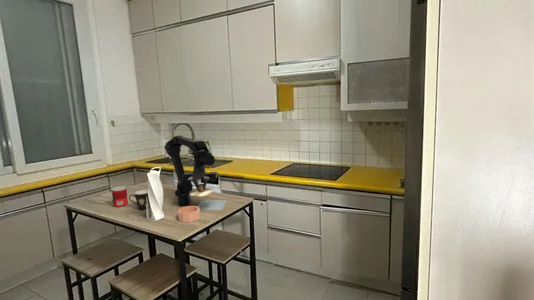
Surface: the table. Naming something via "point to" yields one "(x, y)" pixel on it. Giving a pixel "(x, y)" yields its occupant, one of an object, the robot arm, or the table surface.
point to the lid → (201, 191)
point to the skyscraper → (154, 196)
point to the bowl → (188, 214)
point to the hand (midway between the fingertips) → (201, 190)
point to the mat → (211, 204)
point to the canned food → (119, 196)
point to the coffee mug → (141, 199)
